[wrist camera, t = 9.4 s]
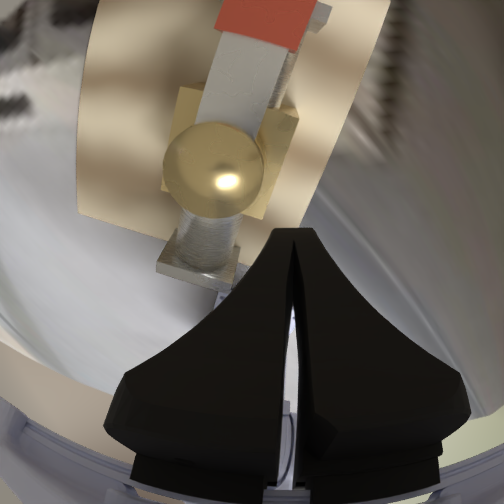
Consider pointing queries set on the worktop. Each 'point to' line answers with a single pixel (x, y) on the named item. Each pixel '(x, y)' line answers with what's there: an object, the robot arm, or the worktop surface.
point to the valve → (226, 229)
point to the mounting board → (197, 70)
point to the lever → (234, 108)
